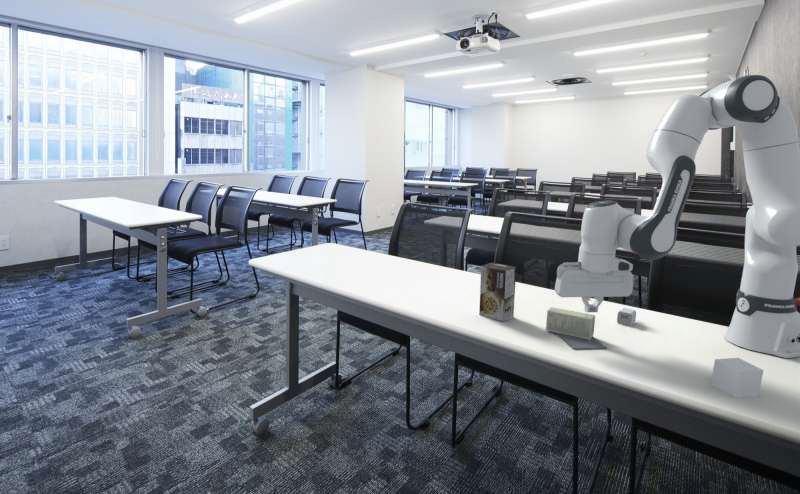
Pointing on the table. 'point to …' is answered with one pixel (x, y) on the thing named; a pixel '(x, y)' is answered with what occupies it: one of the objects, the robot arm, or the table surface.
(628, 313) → the usb wall charger
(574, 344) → the rubber mat
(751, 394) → the light grey cube
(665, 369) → the table surface
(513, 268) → the coffee box
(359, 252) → the table surface
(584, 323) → the skincare box
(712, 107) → the robot arm
